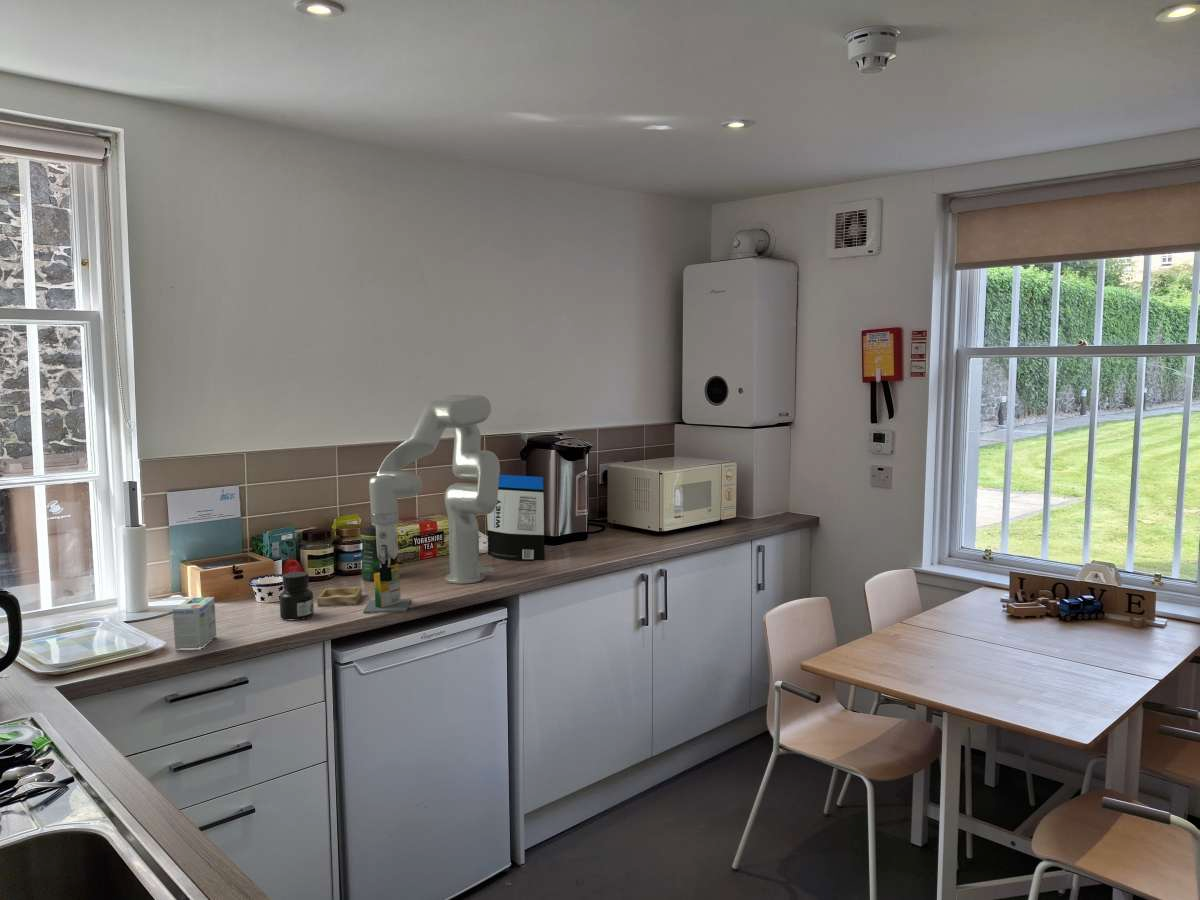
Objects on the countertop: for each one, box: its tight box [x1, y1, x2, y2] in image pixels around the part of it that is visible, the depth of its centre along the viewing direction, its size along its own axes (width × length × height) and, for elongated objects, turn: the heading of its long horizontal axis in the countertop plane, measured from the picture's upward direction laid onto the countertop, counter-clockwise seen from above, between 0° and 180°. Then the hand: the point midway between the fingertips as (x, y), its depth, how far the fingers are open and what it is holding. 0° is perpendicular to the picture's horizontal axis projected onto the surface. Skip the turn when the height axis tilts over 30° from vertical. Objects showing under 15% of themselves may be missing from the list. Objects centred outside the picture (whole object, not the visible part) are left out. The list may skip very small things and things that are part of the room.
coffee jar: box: [360, 522, 380, 582], centre depth 283 cm, size 10×8×19 cm
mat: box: [362, 598, 412, 614], centre depth 250 cm, size 12×12×1 cm
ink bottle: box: [279, 571, 315, 620], centre depth 240 cm, size 10×9×12 cm
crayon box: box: [373, 563, 402, 608], centre depth 249 cm, size 7×3×12 cm, turn 144°
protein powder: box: [486, 474, 546, 562], centre depth 311 cm, size 10×24×30 cm, turn 63°
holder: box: [316, 586, 363, 607], centre depth 257 cm, size 11×11×2 cm
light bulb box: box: [172, 596, 217, 650], centre depth 218 cm, size 11×7×11 cm, turn 5°
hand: (388, 576), depth 249 cm, fingers open, 9 cm apart
